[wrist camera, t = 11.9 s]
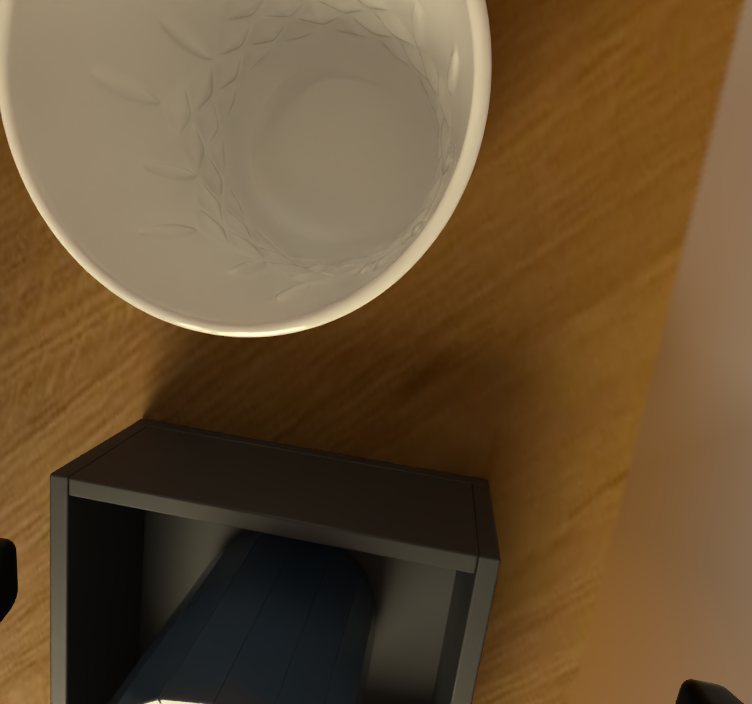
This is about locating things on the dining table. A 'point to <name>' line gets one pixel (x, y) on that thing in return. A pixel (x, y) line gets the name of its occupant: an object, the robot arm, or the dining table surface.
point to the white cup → (245, 146)
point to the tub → (272, 516)
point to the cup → (264, 630)
